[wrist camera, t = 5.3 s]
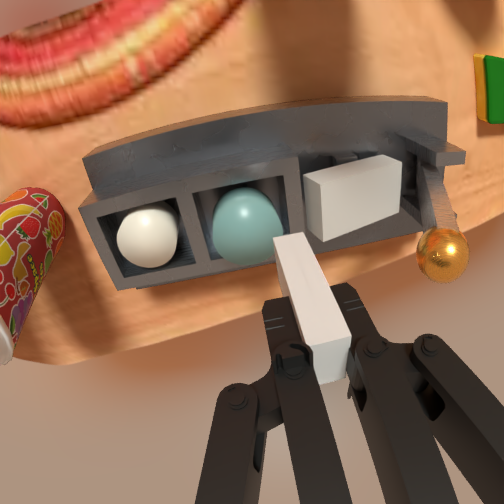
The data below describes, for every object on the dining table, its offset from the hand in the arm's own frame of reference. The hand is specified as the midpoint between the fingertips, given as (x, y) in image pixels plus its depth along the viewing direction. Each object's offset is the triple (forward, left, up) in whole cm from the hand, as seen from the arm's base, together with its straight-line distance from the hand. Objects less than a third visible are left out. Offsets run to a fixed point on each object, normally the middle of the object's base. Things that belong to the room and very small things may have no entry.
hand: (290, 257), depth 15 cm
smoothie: (-20, +2, -11) cm, 23 cm away
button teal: (-2, 0, -5) cm, 6 cm away
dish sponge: (+30, +8, -11) cm, 33 cm away
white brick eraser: (+6, 0, -5) cm, 8 cm away
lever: (+13, 0, -7) cm, 15 cm away
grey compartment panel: (+2, 0, -11) cm, 11 cm away
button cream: (-8, 0, -7) cm, 11 cm away
